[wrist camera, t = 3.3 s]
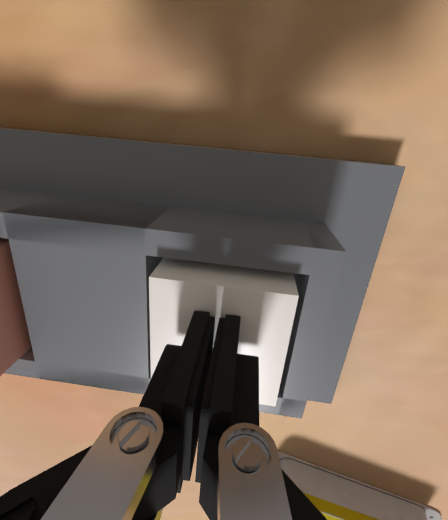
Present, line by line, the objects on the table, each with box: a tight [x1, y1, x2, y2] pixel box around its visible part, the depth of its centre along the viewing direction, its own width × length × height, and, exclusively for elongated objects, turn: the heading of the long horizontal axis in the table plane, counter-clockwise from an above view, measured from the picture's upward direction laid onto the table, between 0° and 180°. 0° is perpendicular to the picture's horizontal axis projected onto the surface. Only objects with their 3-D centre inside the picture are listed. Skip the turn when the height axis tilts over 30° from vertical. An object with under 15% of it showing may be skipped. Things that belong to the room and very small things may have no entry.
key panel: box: [0, 127, 405, 418], centre depth 14 cm, size 24×13×4 cm, turn 85°
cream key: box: [149, 258, 299, 407], centre depth 12 cm, size 5×5×3 cm
